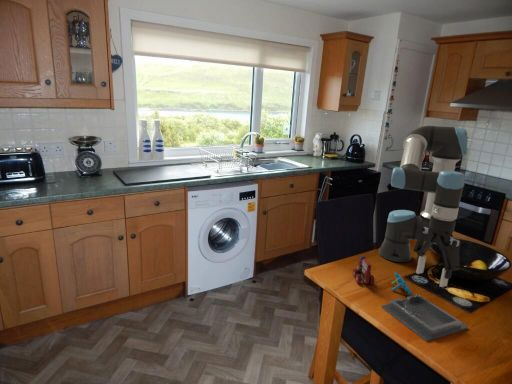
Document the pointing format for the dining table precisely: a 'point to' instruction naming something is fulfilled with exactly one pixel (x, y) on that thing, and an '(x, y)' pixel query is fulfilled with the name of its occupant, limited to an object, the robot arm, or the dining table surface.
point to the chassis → (424, 317)
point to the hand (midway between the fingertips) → (430, 279)
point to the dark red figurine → (363, 272)
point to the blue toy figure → (401, 284)
